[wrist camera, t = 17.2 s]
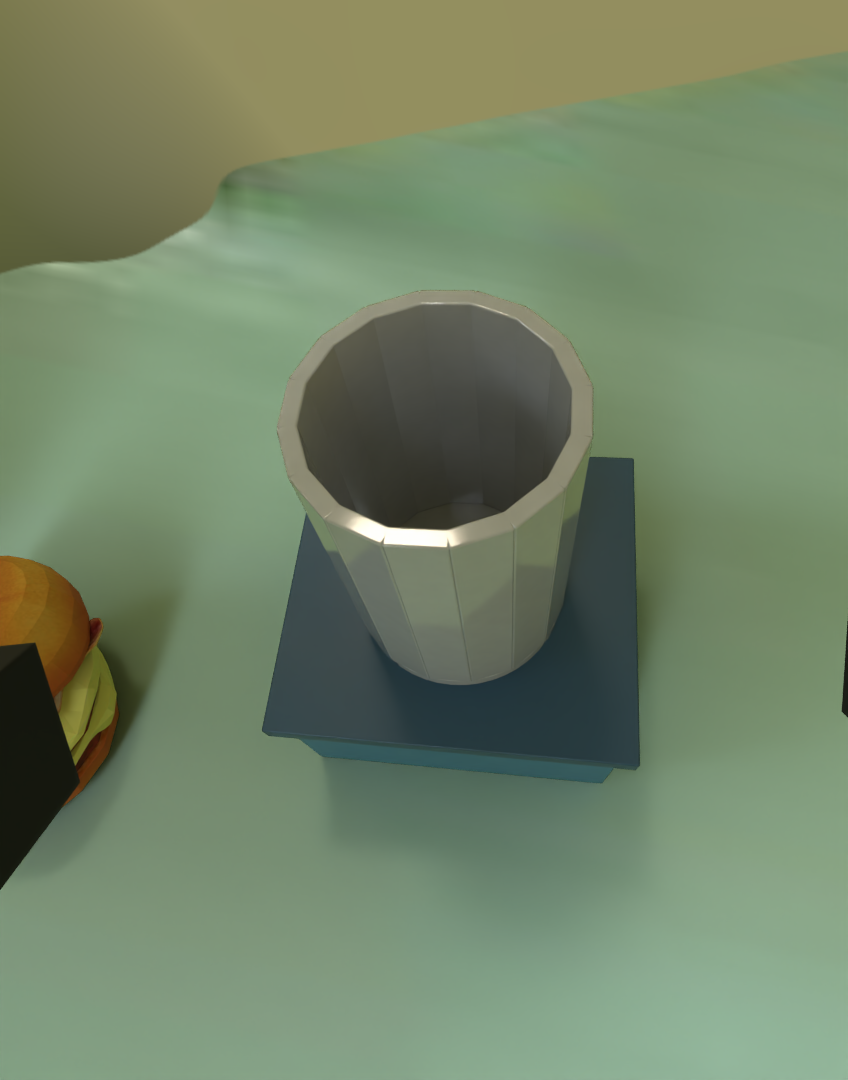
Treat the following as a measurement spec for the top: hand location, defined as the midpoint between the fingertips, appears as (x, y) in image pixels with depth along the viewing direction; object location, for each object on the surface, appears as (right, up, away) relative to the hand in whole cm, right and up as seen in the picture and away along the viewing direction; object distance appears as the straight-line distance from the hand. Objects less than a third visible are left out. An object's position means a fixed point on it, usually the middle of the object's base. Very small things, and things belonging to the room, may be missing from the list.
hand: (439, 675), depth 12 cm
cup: (+1, 0, +15) cm, 15 cm away
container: (+2, -3, +21) cm, 22 cm away
